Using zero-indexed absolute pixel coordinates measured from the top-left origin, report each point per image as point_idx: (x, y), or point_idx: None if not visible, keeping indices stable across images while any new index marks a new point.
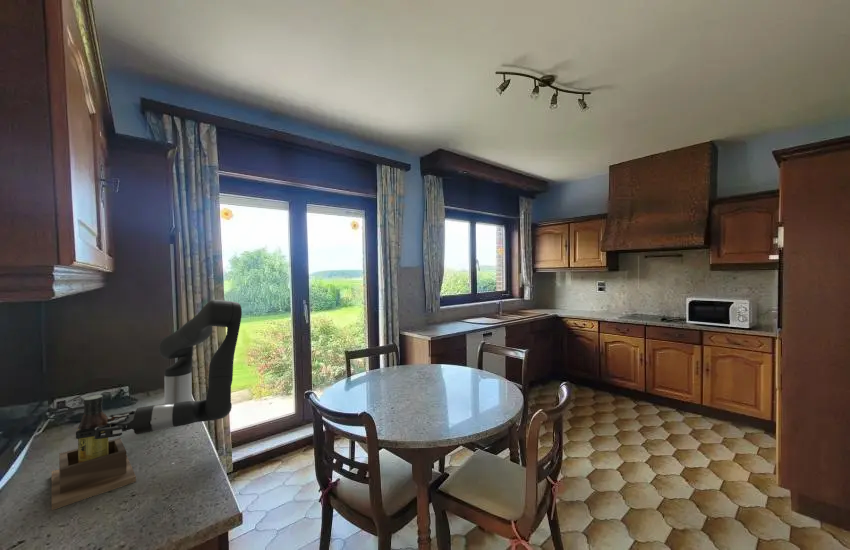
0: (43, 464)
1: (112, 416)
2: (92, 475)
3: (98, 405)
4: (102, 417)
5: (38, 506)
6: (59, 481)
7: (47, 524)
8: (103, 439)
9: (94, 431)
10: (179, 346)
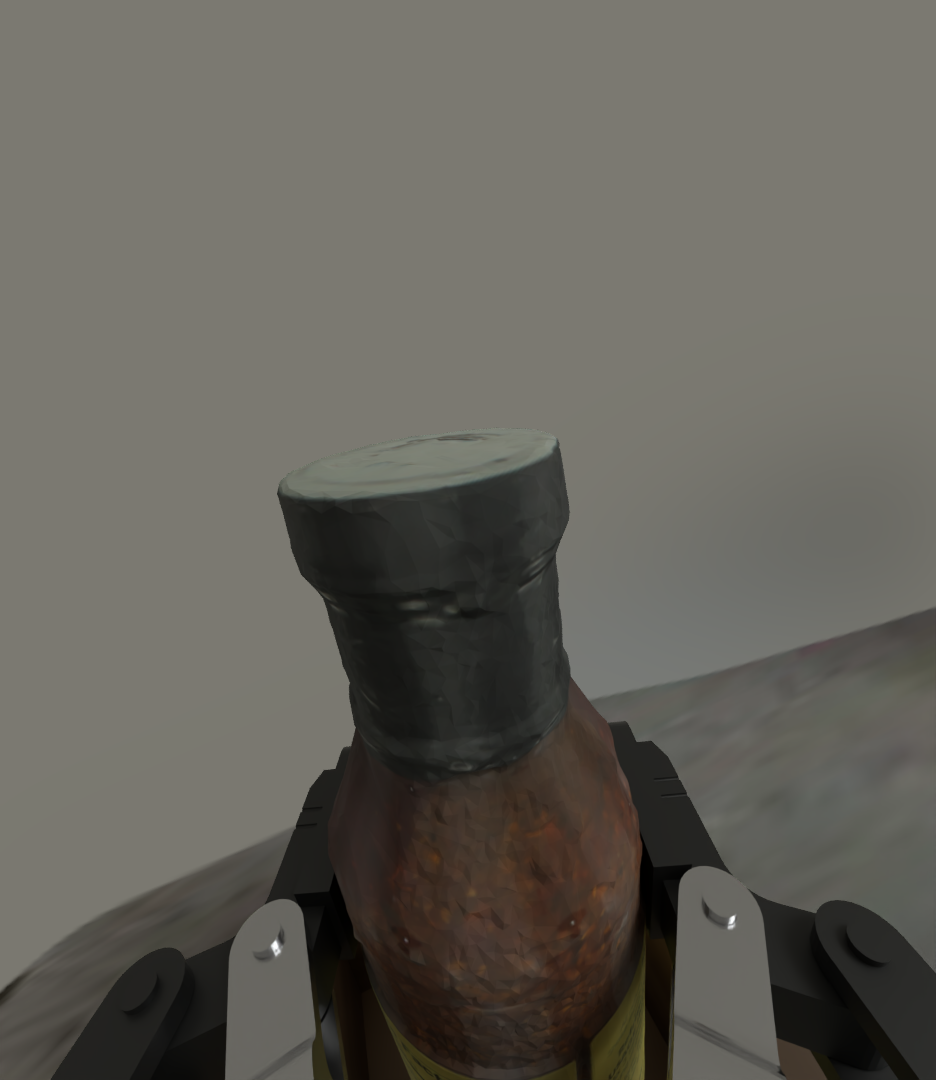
0: (761, 709)
1: (839, 979)
2: None
3: (355, 648)
4: (399, 886)
5: None
6: None
7: (53, 1062)
8: None
9: (230, 945)
10: None
